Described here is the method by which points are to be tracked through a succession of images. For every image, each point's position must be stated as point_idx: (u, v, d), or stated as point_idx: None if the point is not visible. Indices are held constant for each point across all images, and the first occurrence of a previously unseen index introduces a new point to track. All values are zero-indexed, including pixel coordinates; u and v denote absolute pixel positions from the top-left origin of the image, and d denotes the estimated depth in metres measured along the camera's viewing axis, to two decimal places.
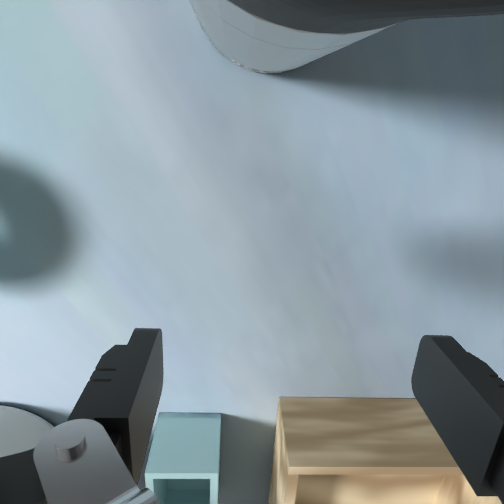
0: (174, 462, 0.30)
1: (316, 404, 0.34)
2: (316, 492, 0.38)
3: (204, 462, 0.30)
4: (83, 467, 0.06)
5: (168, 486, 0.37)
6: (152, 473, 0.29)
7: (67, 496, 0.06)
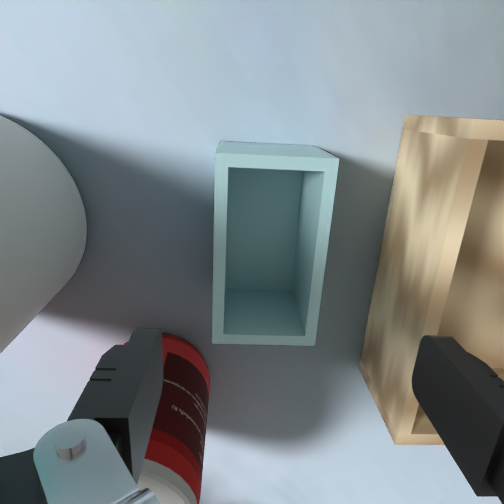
0: (261, 152, 0.18)
1: None
2: None
3: (310, 154, 0.18)
4: (83, 467, 0.06)
5: (227, 281, 0.25)
6: (229, 153, 0.17)
7: (67, 496, 0.06)
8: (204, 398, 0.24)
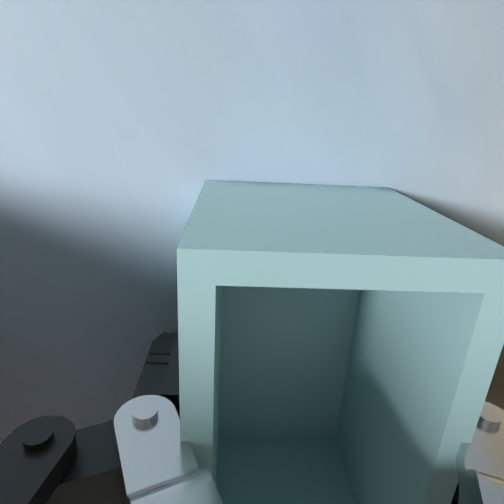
0: (305, 234, 0.07)
1: None
2: None
3: (432, 239, 0.07)
4: (153, 439, 0.07)
5: (220, 426, 0.14)
6: (217, 249, 0.06)
7: (152, 460, 0.07)
8: None
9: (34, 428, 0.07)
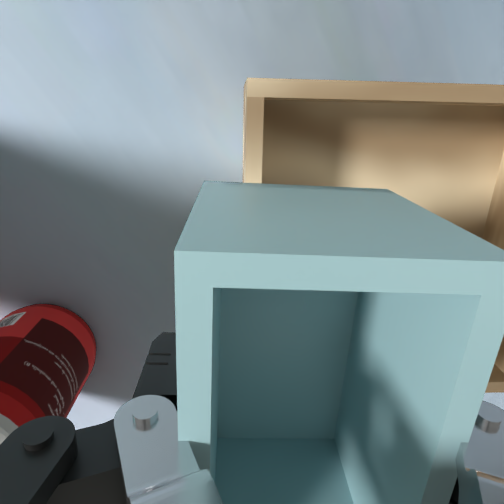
0: (302, 237, 0.07)
1: None
2: None
3: (428, 240, 0.07)
4: (153, 438, 0.07)
5: (219, 427, 0.14)
6: (214, 252, 0.06)
7: (153, 459, 0.07)
8: (75, 360, 0.26)
9: (34, 428, 0.07)
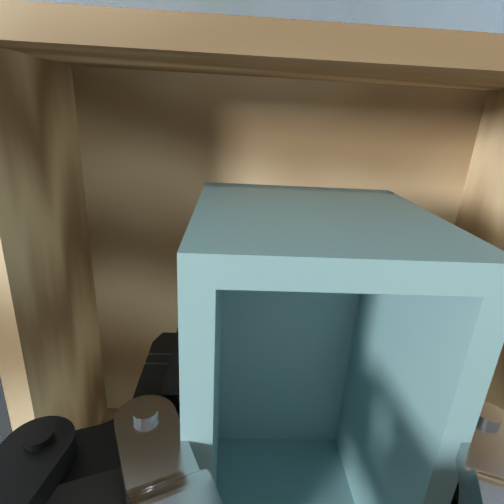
0: (305, 239, 0.07)
1: None
2: None
3: (431, 242, 0.07)
4: (153, 438, 0.07)
5: (220, 428, 0.14)
6: (218, 253, 0.06)
7: (152, 459, 0.07)
8: None
9: (34, 428, 0.07)
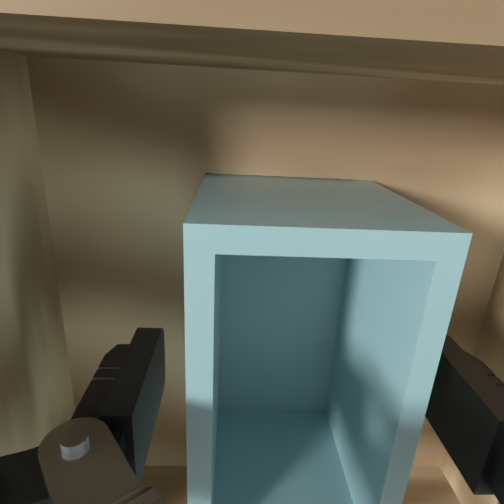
0: (289, 214, 0.08)
1: None
2: (166, 360, 0.15)
3: (395, 218, 0.08)
4: (87, 465, 0.07)
5: (220, 399, 0.15)
6: (216, 224, 0.07)
7: (72, 494, 0.06)
8: None
9: None
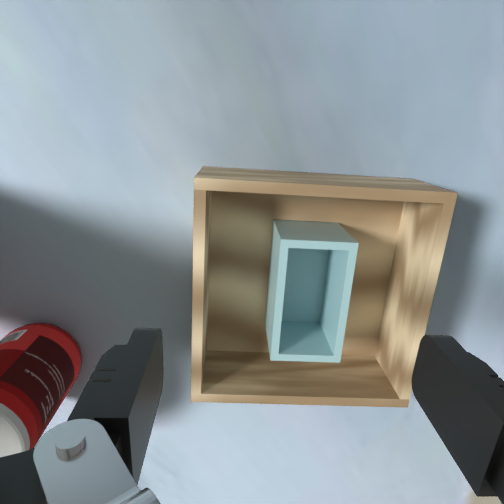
0: (308, 237, 0.28)
1: (242, 169, 0.31)
2: (250, 298, 0.35)
3: (339, 238, 0.28)
4: (83, 467, 0.06)
5: None
6: (289, 239, 0.27)
7: (67, 496, 0.06)
8: (64, 369, 0.33)
9: None
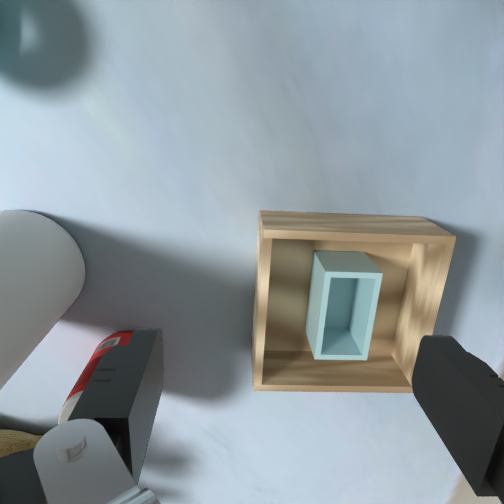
0: (344, 268, 0.37)
1: (290, 213, 0.40)
2: (293, 309, 0.45)
3: (367, 269, 0.37)
4: (83, 467, 0.06)
5: None
6: (331, 271, 0.36)
7: (67, 496, 0.06)
8: None
9: None
